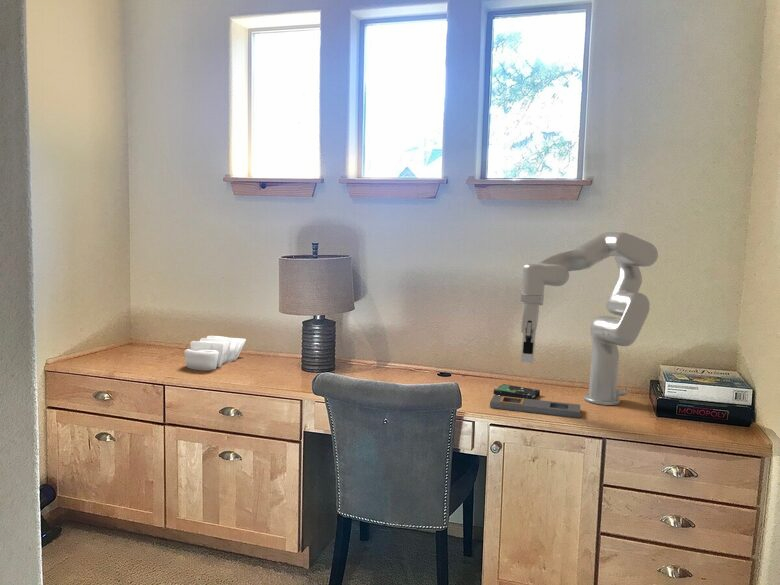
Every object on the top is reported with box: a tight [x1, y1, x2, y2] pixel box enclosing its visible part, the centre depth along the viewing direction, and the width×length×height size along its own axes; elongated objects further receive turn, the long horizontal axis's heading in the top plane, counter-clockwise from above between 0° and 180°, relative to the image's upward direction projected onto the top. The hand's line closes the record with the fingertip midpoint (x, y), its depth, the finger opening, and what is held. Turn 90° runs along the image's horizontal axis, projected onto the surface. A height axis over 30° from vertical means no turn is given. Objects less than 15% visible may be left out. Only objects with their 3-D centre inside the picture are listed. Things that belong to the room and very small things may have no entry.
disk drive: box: [493, 383, 541, 400], centre depth 232 cm, size 10×3×15 cm
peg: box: [520, 331, 537, 364], centre depth 212 cm, size 4×4×10 cm
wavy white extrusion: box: [183, 335, 247, 372], centre depth 267 cm, size 35×16×11 cm, turn 167°
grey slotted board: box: [489, 395, 581, 419], centre depth 214 cm, size 30×10×2 cm, turn 73°
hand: (528, 351), depth 213 cm, fingers closed on peg, 4 cm apart
